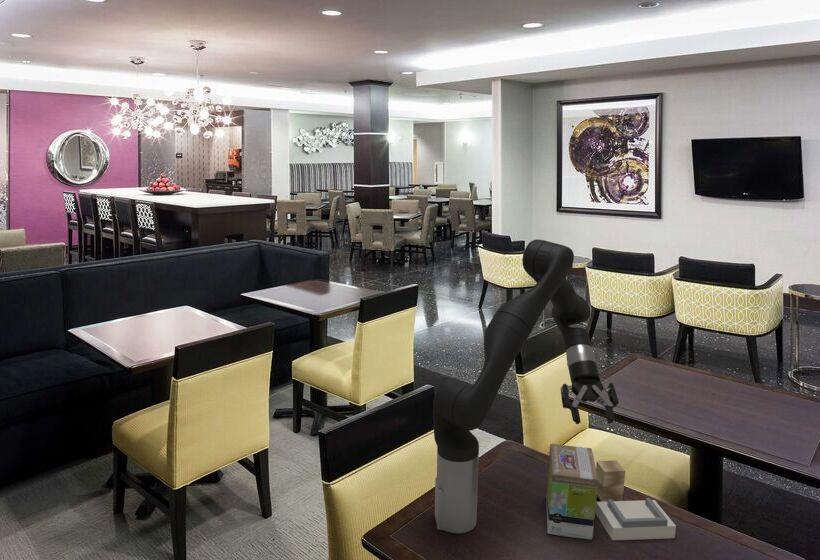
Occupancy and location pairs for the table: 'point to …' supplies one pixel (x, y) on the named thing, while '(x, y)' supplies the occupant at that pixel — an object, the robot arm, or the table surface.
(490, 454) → the table surface
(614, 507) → the dock
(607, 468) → the tall cardboard box
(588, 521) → the tea box
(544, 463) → the table surface
